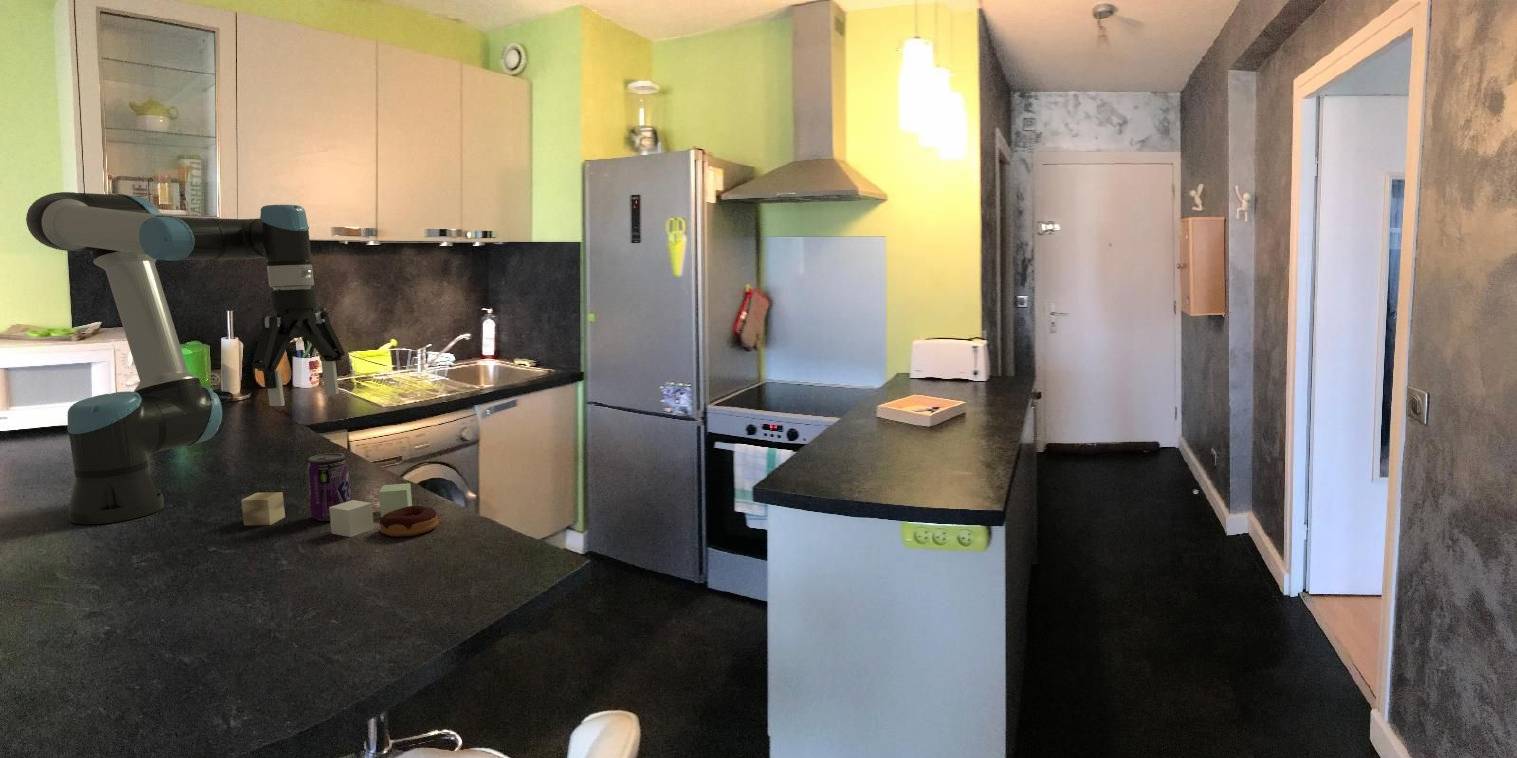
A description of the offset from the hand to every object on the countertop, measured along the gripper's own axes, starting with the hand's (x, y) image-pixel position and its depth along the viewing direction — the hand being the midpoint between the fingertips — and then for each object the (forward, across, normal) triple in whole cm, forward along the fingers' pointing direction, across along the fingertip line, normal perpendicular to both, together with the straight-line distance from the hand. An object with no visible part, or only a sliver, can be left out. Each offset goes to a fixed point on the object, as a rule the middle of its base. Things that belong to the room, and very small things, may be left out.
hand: (305, 399), depth 165 cm
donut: (+24, -4, -24) cm, 34 cm away
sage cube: (+23, +5, -14) cm, 28 cm away
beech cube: (+23, -6, +7) cm, 24 cm away
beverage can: (+23, -1, -4) cm, 23 cm away
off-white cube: (+23, -7, -14) cm, 28 cm away
